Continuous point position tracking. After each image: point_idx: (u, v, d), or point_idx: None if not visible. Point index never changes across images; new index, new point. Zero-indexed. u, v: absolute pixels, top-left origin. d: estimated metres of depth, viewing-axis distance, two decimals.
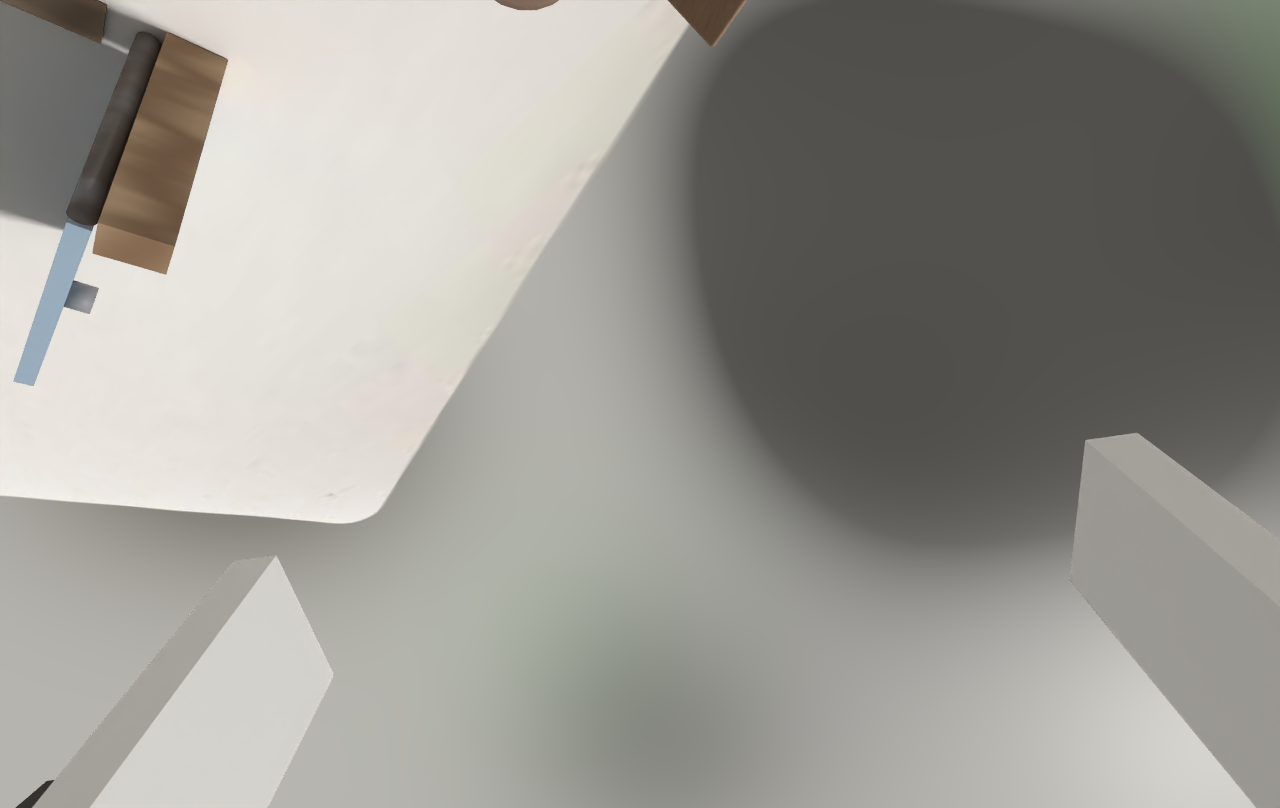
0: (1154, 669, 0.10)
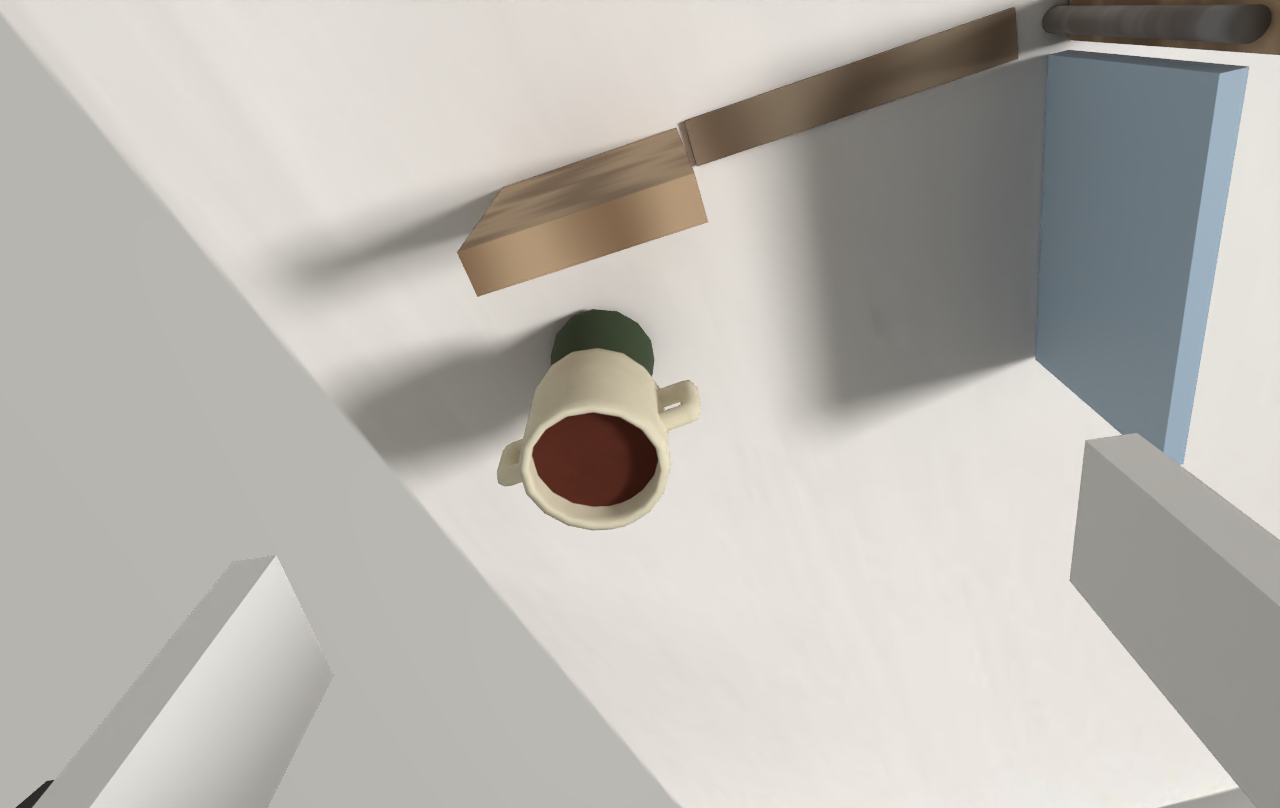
0: (1153, 669, 0.10)
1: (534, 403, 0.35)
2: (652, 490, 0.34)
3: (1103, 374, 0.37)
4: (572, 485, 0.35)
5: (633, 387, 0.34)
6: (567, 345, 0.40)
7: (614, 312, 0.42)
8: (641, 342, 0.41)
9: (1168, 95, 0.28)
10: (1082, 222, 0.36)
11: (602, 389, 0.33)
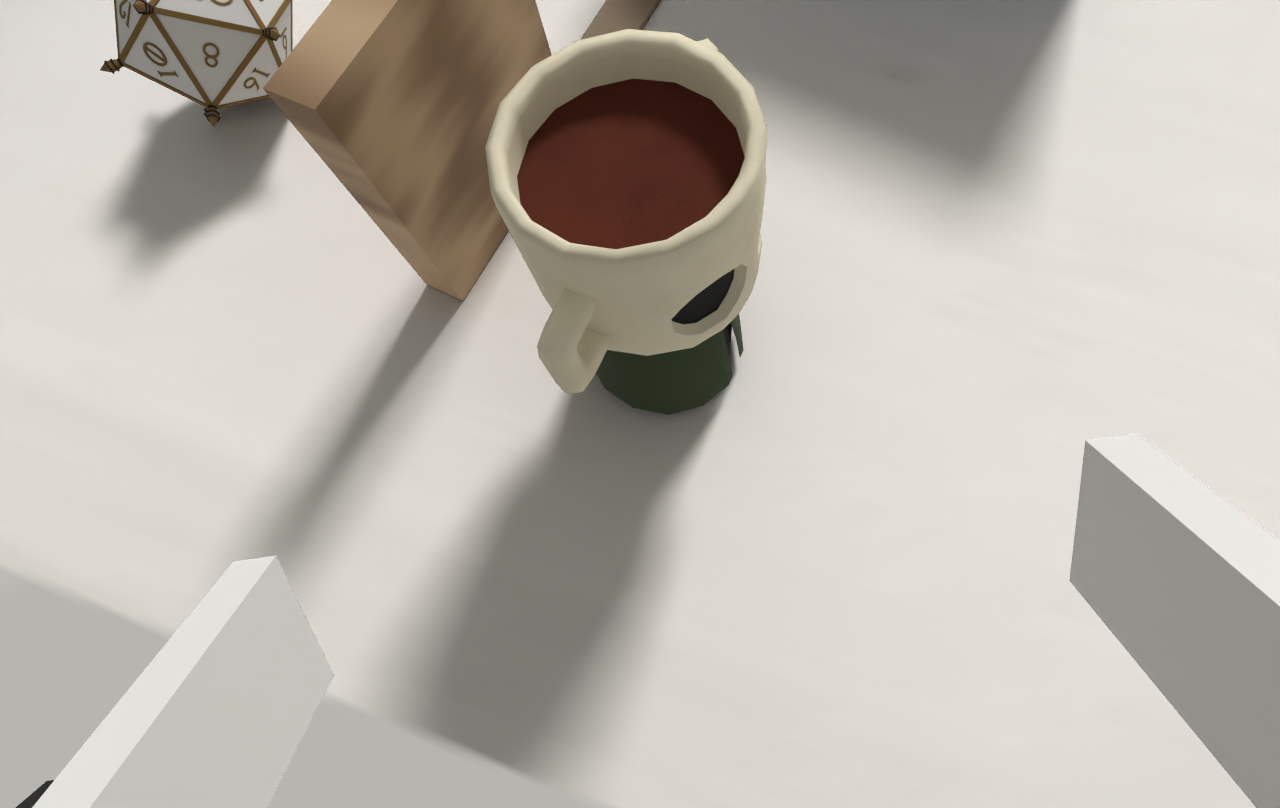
0: (1153, 669, 0.10)
1: None
2: (738, 106, 0.18)
3: None
4: (642, 238, 0.18)
5: None
6: None
7: None
8: None
9: None
10: None
11: None
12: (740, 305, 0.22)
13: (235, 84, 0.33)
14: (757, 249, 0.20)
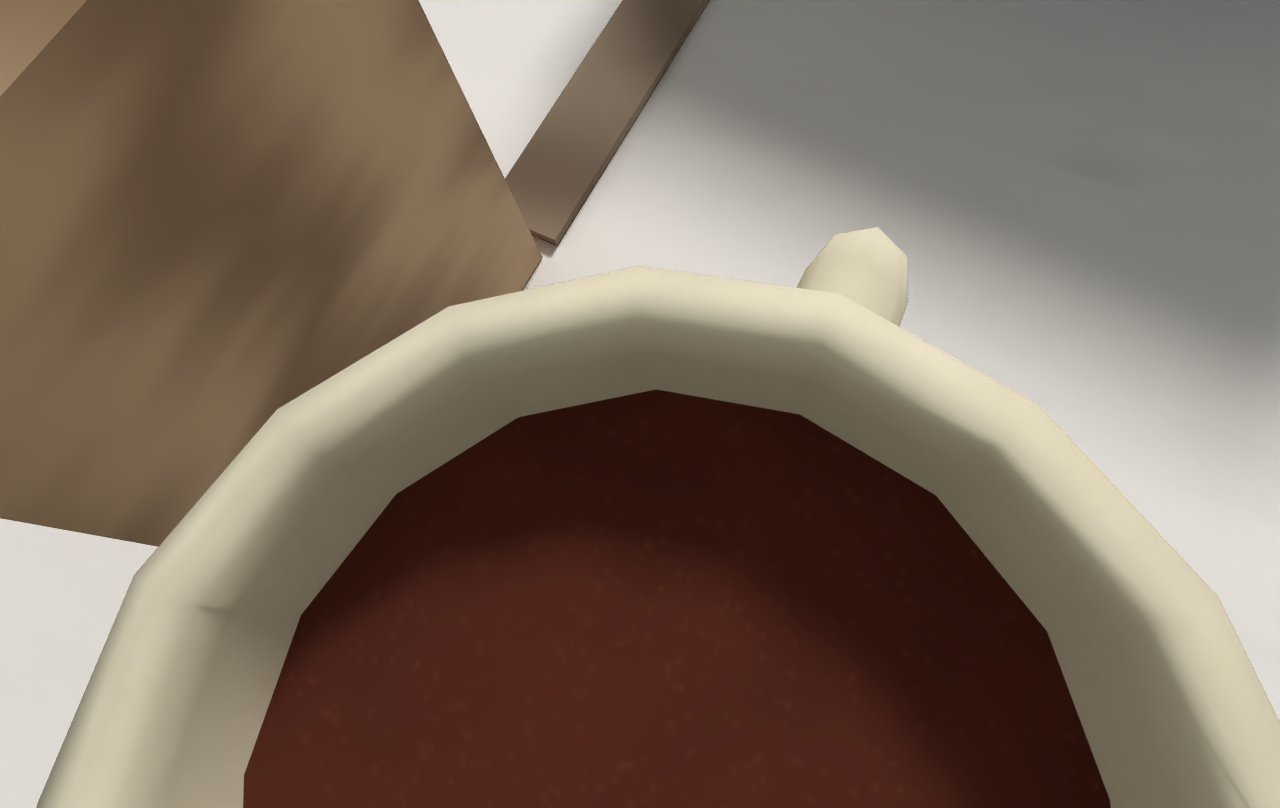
0: None
1: None
2: (1137, 666, 0.04)
3: None
4: None
5: None
6: None
7: None
8: None
9: None
10: None
11: None
12: None
13: None
14: None
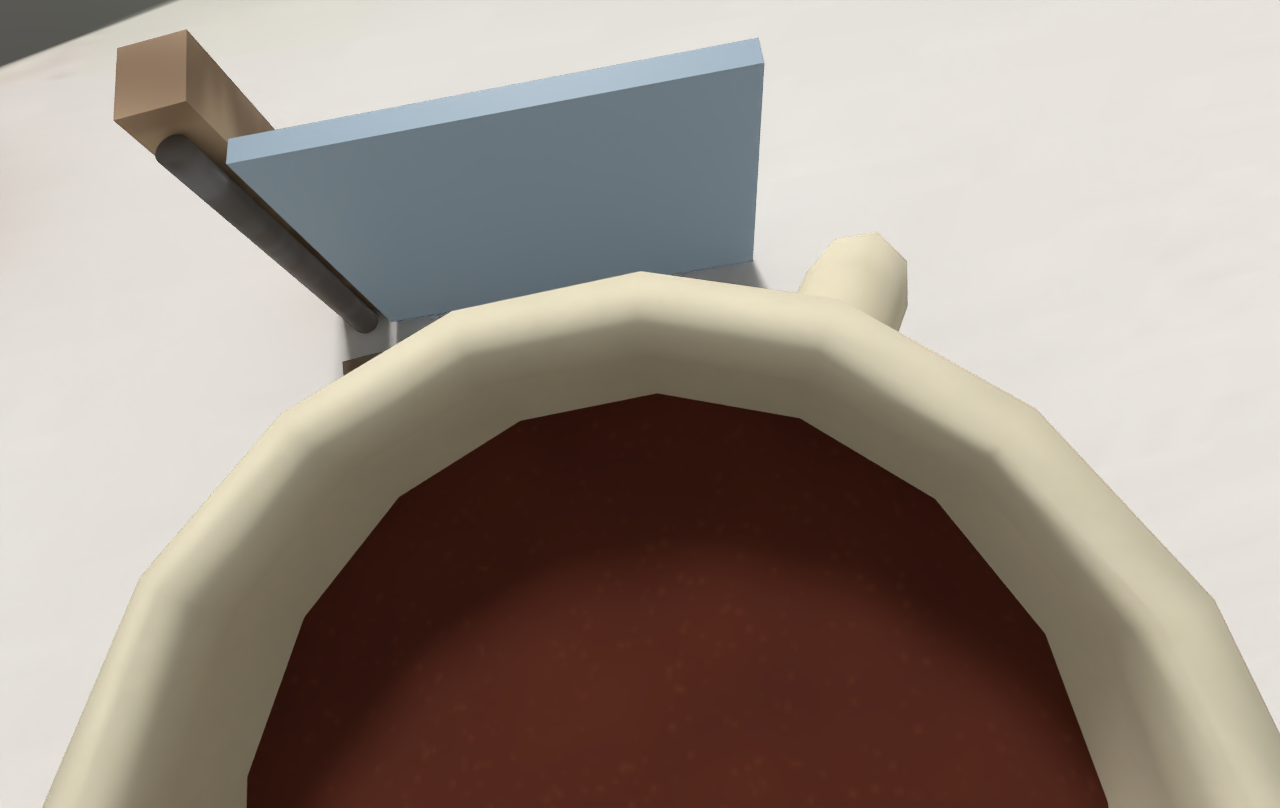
0: None
1: None
2: (1133, 671, 0.04)
3: (692, 178, 0.27)
4: None
5: None
6: None
7: None
8: None
9: (300, 204, 0.26)
10: (522, 251, 0.30)
11: None
12: None
13: None
14: None
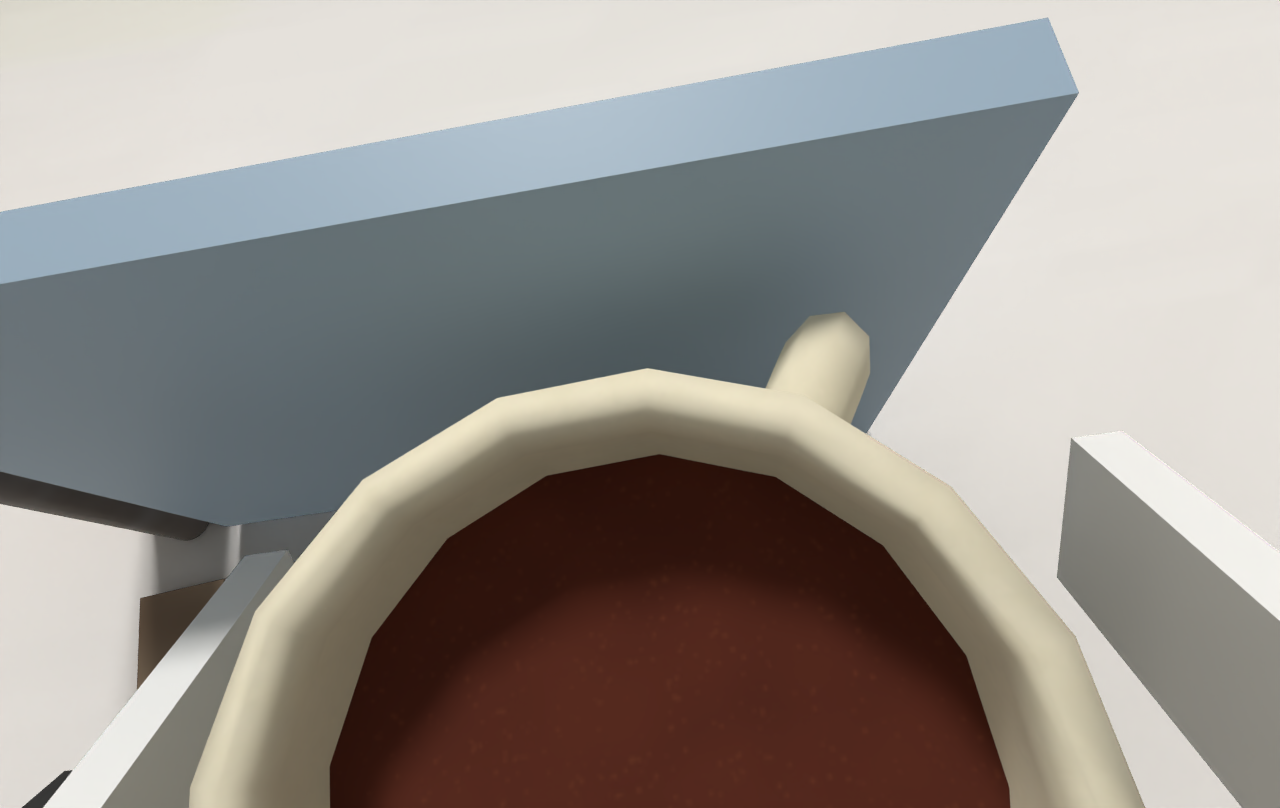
0: (1137, 664, 0.10)
1: None
2: (1018, 687, 0.05)
3: None
4: None
5: None
6: None
7: None
8: None
9: None
10: None
11: None
12: None
13: None
14: None
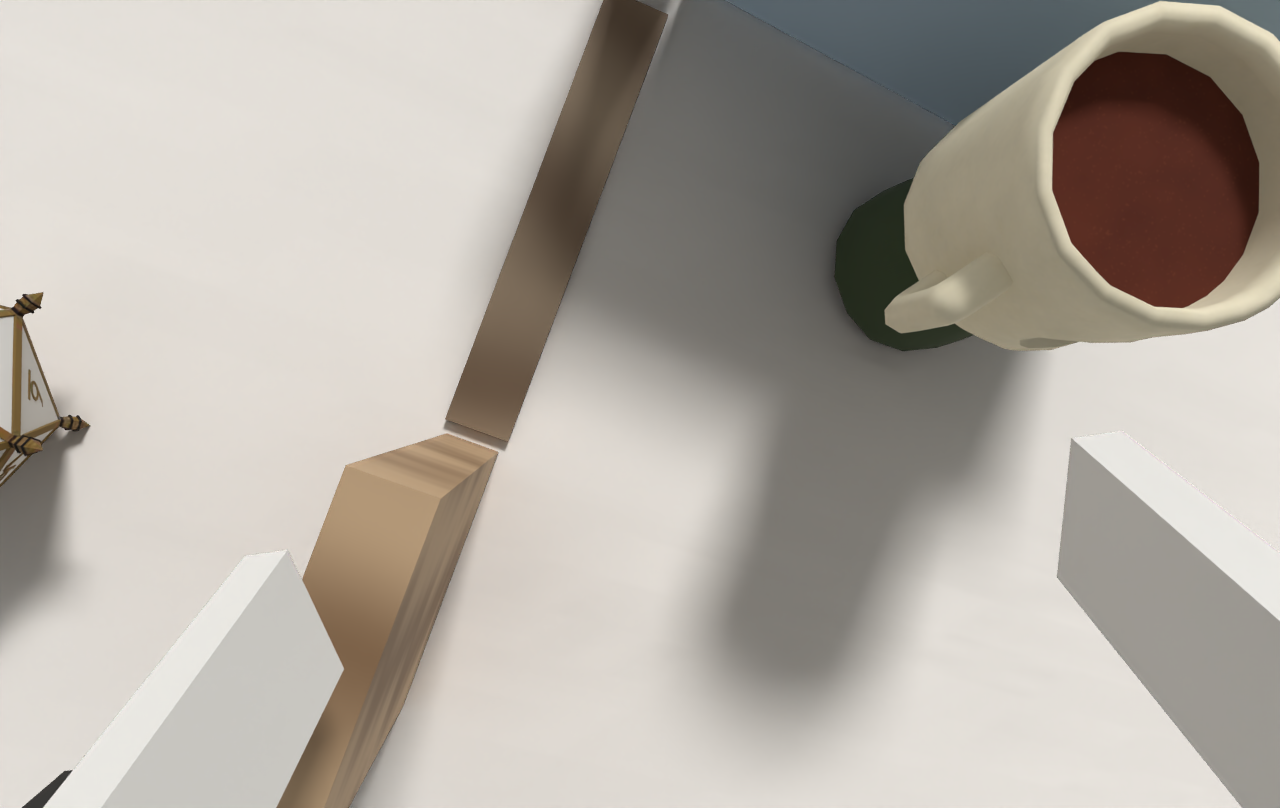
0: (1137, 664, 0.10)
1: (955, 159, 0.18)
2: None
3: None
4: (1106, 267, 0.16)
5: None
6: (889, 203, 0.24)
7: None
8: None
9: None
10: (918, 22, 0.23)
11: None
12: None
13: None
14: None
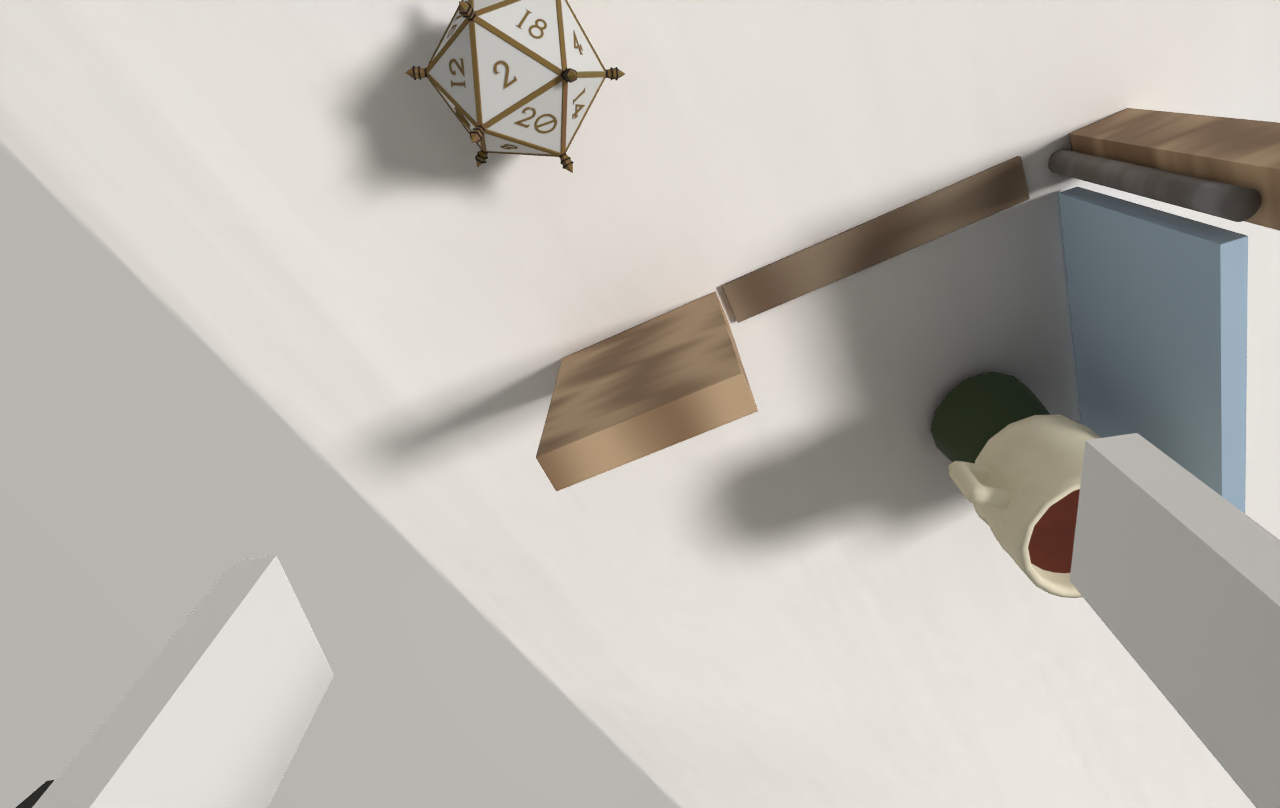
0: (1152, 669, 0.10)
1: (1042, 444, 0.35)
2: None
3: None
4: (1036, 536, 0.35)
5: None
6: (1007, 398, 0.41)
7: (1029, 390, 0.43)
8: None
9: (1176, 252, 0.30)
10: (1112, 345, 0.38)
11: None
12: None
13: (512, 150, 0.35)
14: None
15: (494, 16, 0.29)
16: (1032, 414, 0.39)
